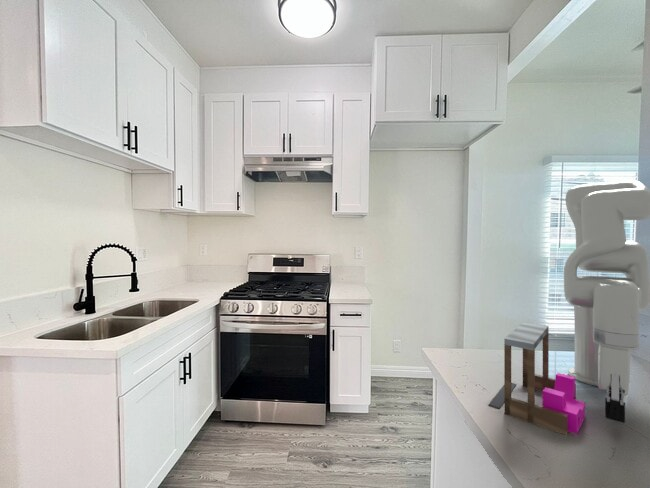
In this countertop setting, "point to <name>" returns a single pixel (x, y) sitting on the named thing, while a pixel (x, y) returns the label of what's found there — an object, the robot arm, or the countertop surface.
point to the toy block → (565, 401)
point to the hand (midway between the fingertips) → (614, 418)
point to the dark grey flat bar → (500, 397)
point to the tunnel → (531, 378)
